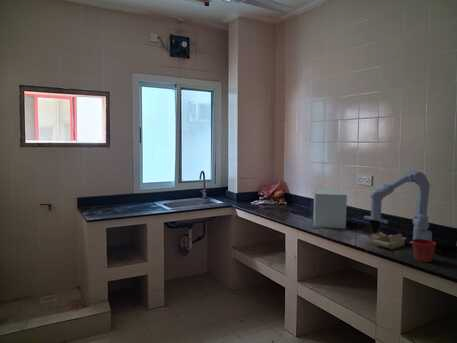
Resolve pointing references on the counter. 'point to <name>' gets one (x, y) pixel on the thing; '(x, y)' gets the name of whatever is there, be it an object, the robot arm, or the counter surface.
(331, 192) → the cube
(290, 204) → the counter surface
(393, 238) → the flap near
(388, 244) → the carton
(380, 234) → the flap far
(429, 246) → the flower pot
